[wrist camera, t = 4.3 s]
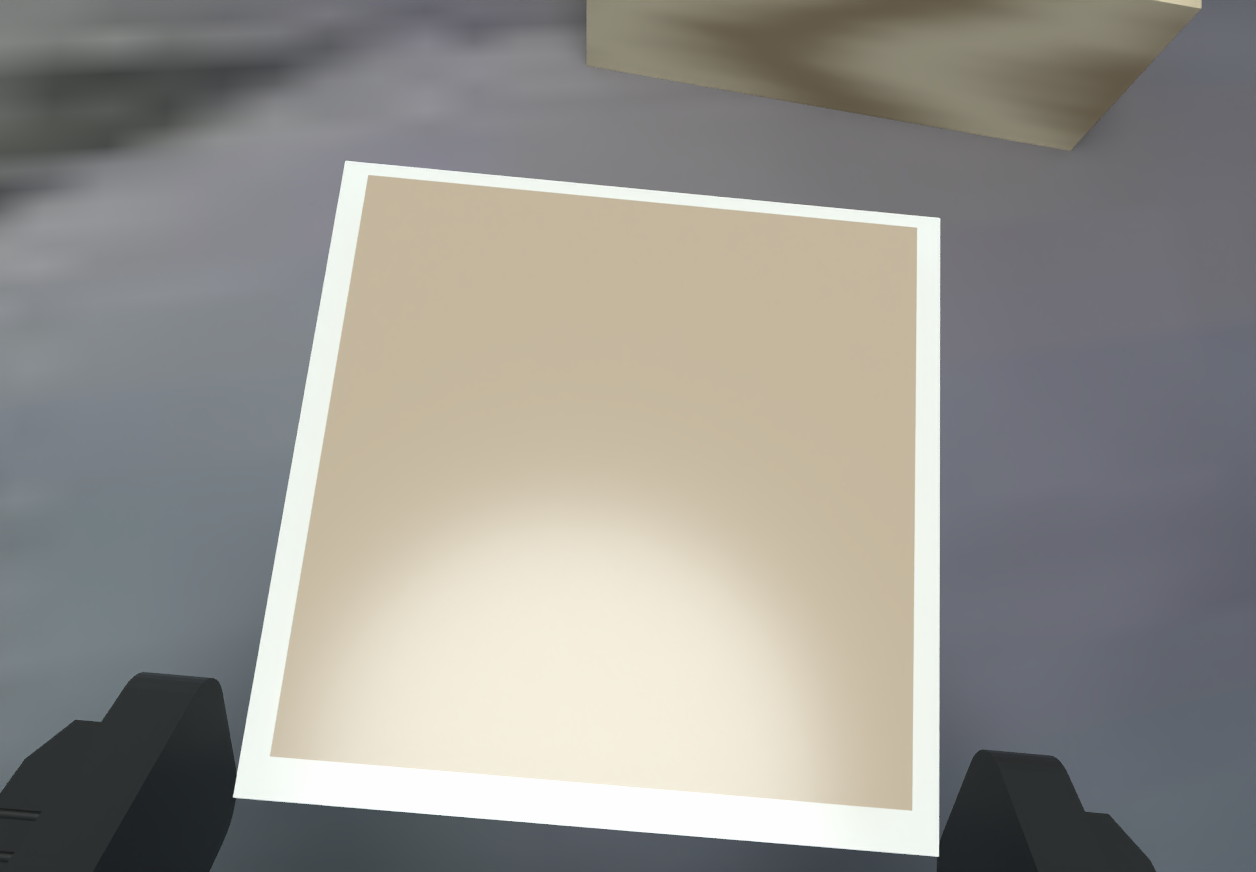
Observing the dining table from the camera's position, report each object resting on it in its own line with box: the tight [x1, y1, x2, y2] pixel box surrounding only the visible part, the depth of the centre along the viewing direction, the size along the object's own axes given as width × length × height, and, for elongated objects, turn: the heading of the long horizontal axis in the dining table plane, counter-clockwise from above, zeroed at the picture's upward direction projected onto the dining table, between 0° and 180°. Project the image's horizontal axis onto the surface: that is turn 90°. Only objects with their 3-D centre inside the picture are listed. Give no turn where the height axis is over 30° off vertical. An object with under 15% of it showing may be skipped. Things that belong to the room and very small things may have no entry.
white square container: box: [233, 161, 940, 857], centre depth 13 cm, size 6×6×10 cm
